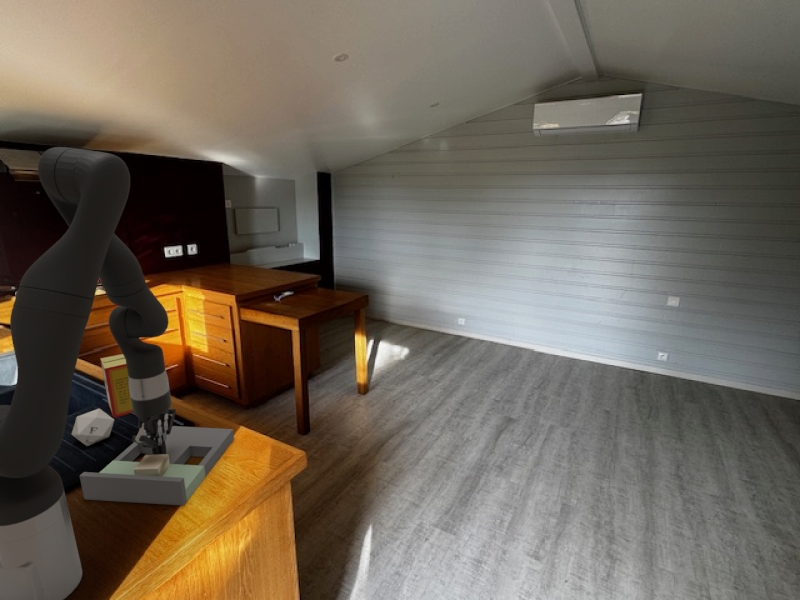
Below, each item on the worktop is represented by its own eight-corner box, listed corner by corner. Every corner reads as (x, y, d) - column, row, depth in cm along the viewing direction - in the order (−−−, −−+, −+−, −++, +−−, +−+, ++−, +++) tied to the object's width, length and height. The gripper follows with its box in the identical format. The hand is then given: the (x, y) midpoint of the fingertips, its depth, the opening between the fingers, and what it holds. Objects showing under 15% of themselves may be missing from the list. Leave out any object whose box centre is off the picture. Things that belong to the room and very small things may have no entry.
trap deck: (183, 505, 86) (180, 481, 84) (84, 499, 87) (79, 475, 85) (234, 438, 109) (232, 419, 107) (155, 434, 110) (152, 415, 108)
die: (66, 450, 104) (70, 431, 99) (77, 420, 109) (81, 401, 104) (104, 452, 108) (110, 434, 103) (113, 422, 114) (119, 404, 109)
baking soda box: (139, 410, 121) (131, 361, 117) (113, 418, 117) (104, 367, 113) (133, 398, 128) (125, 351, 124) (108, 405, 124) (100, 357, 120)
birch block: (159, 480, 89) (157, 468, 88) (135, 481, 88) (133, 469, 88) (169, 465, 94) (168, 454, 93) (147, 466, 93) (145, 454, 92)
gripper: (147, 406, 84) (158, 476, 88) (183, 378, 96) (191, 440, 101) (112, 405, 84) (125, 474, 89) (152, 376, 97) (162, 438, 101)
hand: (160, 456), depth 95 cm, fingers closed
